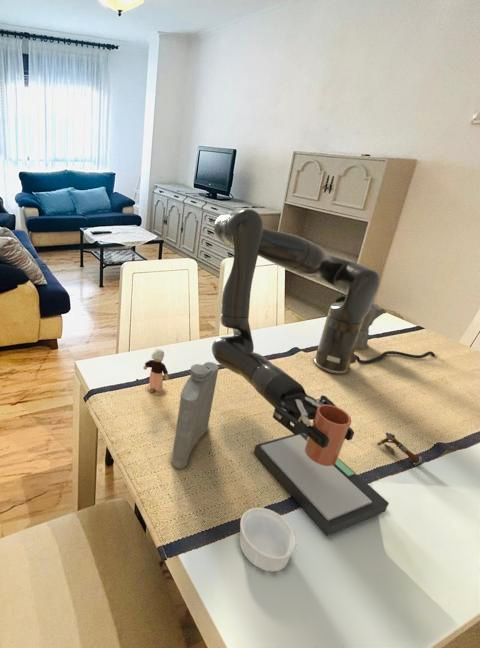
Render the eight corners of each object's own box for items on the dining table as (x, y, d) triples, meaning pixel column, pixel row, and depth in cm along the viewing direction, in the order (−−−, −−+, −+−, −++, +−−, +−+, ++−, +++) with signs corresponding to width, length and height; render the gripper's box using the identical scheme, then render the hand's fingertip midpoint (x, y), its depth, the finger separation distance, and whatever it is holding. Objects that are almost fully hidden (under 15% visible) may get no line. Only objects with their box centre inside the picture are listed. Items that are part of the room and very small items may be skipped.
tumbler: (319, 440, 80) (332, 402, 76) (343, 462, 75) (358, 421, 71) (298, 447, 78) (310, 407, 74) (321, 469, 73) (335, 428, 69)
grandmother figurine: (170, 390, 105) (175, 350, 100) (165, 398, 102) (170, 357, 97) (143, 381, 108) (147, 342, 103) (138, 389, 104) (142, 349, 100)
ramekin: (261, 585, 60) (266, 567, 59) (225, 534, 68) (229, 516, 66) (302, 563, 64) (308, 546, 62) (264, 517, 71) (269, 500, 69)
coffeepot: (376, 346, 135) (393, 299, 128) (368, 355, 128) (385, 306, 122) (330, 329, 145) (343, 285, 138) (321, 337, 138) (334, 291, 132)
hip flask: (182, 471, 80) (195, 392, 72) (165, 462, 82) (175, 384, 74) (209, 426, 92) (222, 355, 85) (193, 419, 94) (204, 349, 87)
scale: (304, 438, 91) (307, 428, 90) (385, 511, 74) (390, 500, 72) (253, 453, 85) (256, 442, 84) (326, 536, 68) (331, 524, 67)
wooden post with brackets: (374, 438, 91) (389, 428, 88) (406, 466, 87) (423, 457, 85) (372, 442, 89) (387, 432, 87) (405, 471, 86) (422, 461, 83)
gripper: (253, 378, 83) (315, 432, 68) (304, 367, 88) (372, 416, 73) (247, 406, 86) (305, 464, 71) (297, 394, 91) (360, 446, 76)
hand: (339, 440), depth 72 cm, fingers closed on tumbler, 6 cm apart
